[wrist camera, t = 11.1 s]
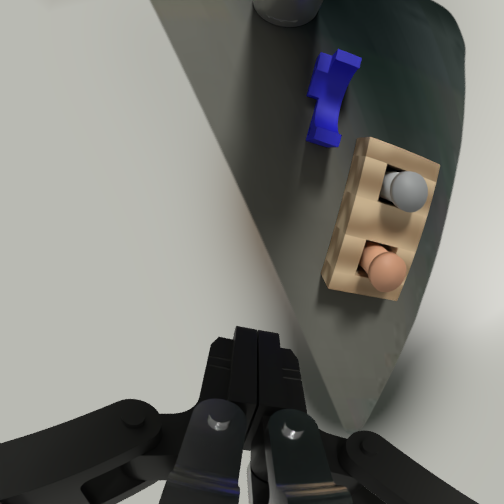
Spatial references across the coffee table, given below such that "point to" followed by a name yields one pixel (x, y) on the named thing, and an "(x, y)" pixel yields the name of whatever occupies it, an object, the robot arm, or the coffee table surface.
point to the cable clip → (329, 95)
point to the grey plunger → (404, 190)
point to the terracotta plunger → (382, 267)
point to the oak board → (375, 217)
